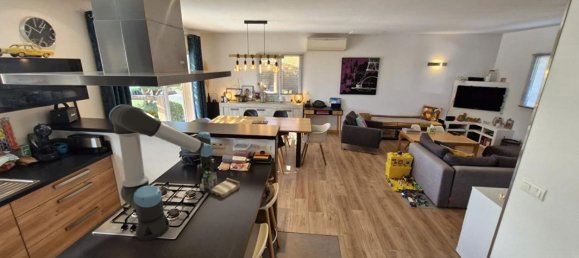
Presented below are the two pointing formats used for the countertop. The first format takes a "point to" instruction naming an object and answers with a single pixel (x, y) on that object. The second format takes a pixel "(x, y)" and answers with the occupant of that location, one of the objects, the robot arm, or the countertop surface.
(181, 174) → the countertop surface
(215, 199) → the countertop surface
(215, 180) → the chalk box
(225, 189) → the dock
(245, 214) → the countertop surface
